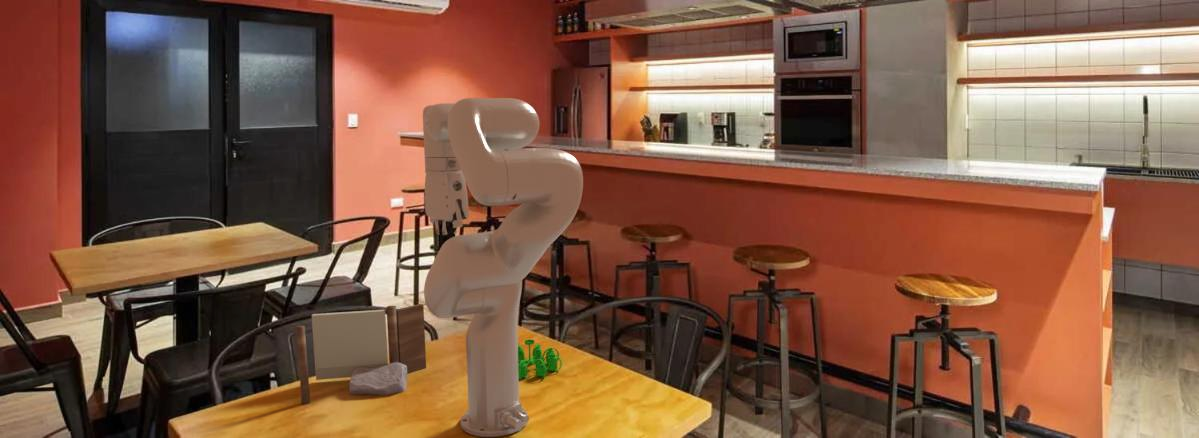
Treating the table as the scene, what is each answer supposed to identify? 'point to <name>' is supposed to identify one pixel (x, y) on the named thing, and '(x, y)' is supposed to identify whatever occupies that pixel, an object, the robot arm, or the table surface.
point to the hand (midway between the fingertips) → (447, 252)
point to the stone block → (379, 379)
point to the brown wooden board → (402, 341)
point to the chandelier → (537, 360)
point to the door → (348, 342)
